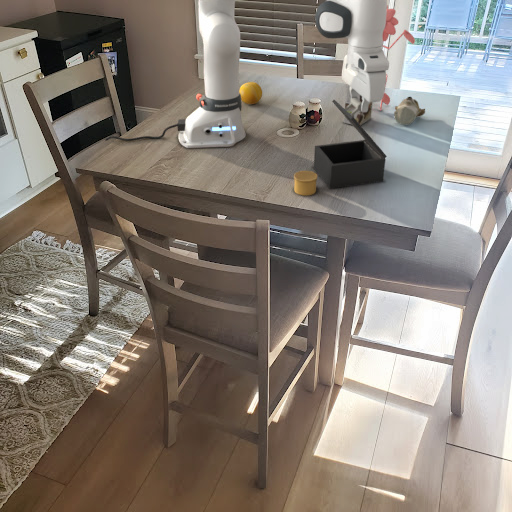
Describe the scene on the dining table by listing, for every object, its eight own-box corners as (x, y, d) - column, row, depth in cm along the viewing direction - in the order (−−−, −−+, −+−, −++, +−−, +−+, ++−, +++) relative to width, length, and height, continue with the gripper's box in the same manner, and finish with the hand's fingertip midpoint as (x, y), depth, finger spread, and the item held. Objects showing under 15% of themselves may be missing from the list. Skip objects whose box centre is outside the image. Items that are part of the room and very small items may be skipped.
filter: (297, 197, 152) (298, 182, 149) (290, 186, 157) (291, 172, 154) (319, 194, 153) (320, 179, 151) (312, 183, 158) (312, 169, 156)
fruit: (235, 104, 212) (234, 83, 207) (246, 98, 218) (246, 77, 213) (255, 108, 208) (254, 87, 204) (266, 102, 214) (266, 81, 209)
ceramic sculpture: (390, 99, 188) (399, 88, 200) (386, 124, 193) (396, 112, 204) (421, 104, 184) (430, 93, 196) (417, 129, 189) (425, 117, 201)
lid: (350, 119, 145) (366, 104, 144) (331, 101, 156) (345, 87, 155) (384, 158, 155) (399, 145, 153) (364, 139, 166) (378, 126, 164)
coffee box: (359, 126, 192) (363, 80, 183) (342, 122, 195) (346, 76, 186) (371, 118, 198) (376, 73, 189) (355, 115, 201) (359, 70, 192)
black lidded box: (330, 188, 156) (331, 165, 152) (313, 167, 167) (314, 145, 163) (382, 181, 159) (385, 159, 155) (363, 161, 170) (365, 139, 166)
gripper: (338, 45, 151) (334, 95, 159) (368, 67, 135) (362, 121, 143) (359, 44, 152) (355, 93, 160) (392, 65, 136) (385, 119, 144)
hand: (358, 107), depth 152 cm, fingers closed on lid, 5 cm apart
